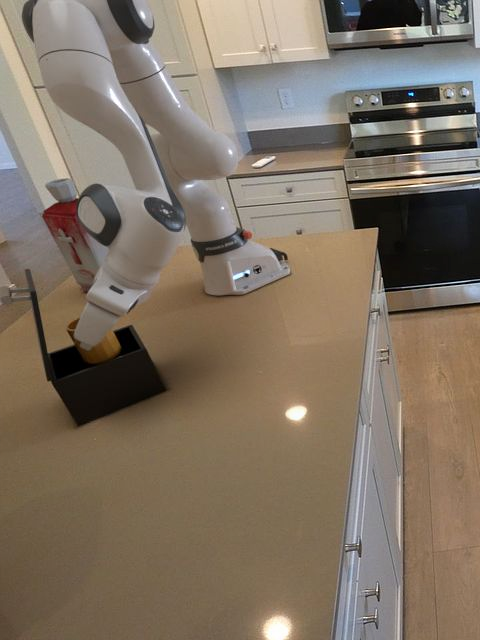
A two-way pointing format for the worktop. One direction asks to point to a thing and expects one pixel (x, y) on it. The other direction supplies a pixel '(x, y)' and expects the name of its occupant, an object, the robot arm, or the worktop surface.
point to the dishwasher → (105, 378)
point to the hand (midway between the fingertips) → (94, 336)
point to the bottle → (73, 234)
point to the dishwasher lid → (6, 298)
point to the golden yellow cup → (99, 353)
